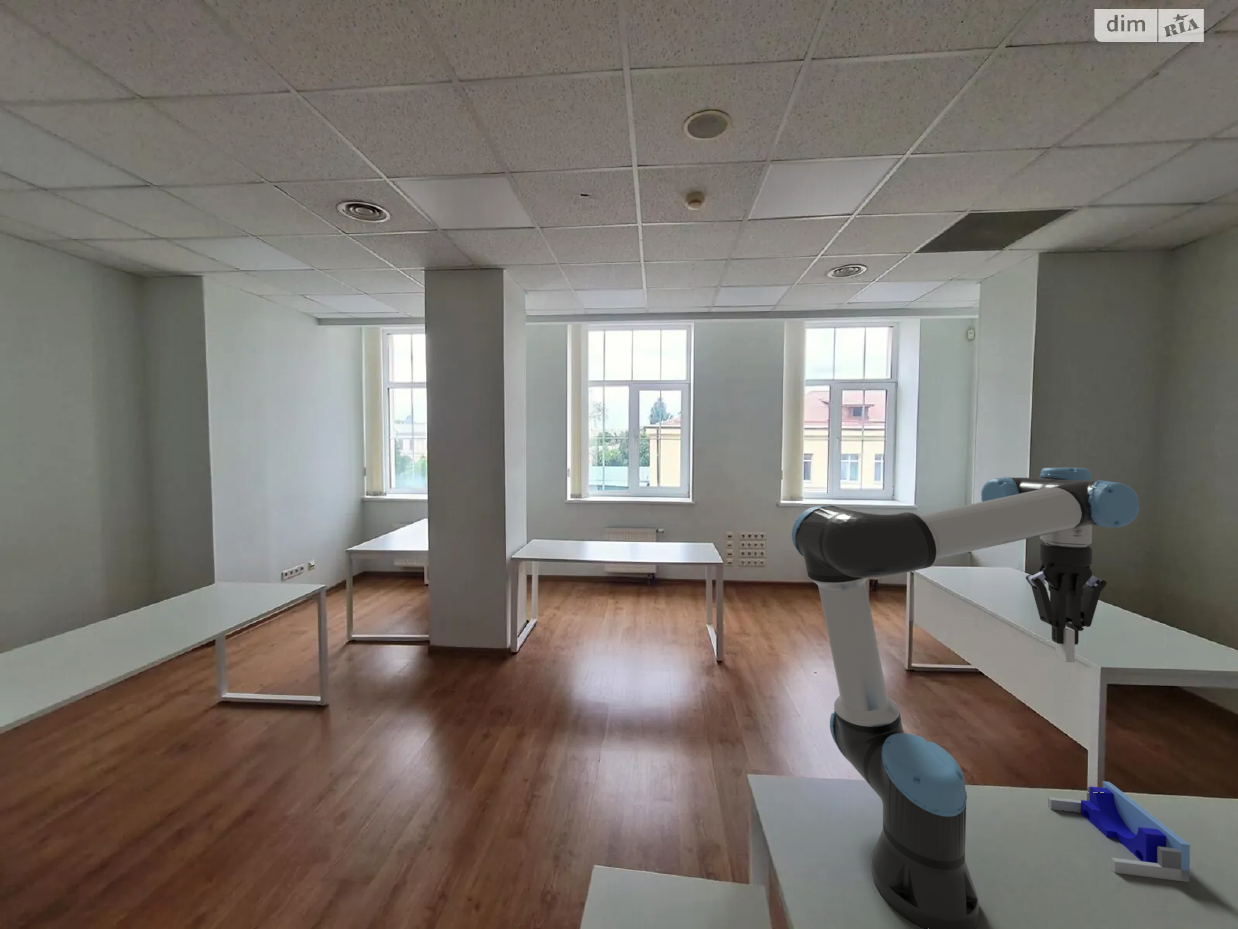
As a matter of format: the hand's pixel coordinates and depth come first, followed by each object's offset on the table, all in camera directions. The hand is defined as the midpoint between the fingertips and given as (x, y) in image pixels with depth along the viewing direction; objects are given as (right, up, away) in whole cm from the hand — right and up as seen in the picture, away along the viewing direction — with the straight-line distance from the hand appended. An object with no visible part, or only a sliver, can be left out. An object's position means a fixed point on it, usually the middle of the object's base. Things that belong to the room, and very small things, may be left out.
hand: (1064, 659), depth 93 cm
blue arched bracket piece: (+6, -33, -5) cm, 34 cm away
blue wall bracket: (+4, -32, -5) cm, 33 cm away
